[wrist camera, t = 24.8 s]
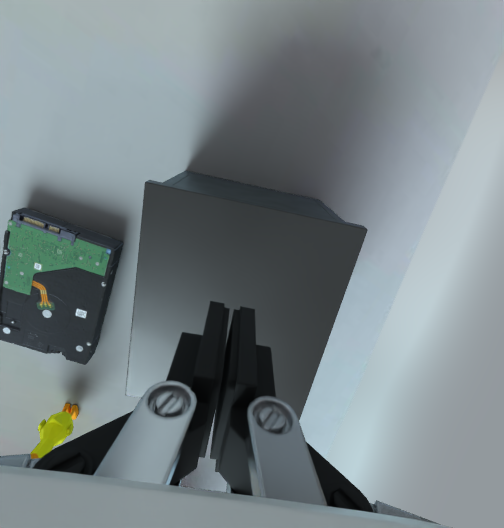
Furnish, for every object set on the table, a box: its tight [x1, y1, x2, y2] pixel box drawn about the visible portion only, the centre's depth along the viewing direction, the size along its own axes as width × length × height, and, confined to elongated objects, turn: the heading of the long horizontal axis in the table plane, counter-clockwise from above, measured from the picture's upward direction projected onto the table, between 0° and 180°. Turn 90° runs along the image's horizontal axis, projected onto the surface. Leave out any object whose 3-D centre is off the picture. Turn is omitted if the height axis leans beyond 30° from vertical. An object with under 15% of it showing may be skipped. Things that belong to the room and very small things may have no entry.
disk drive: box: [0, 208, 123, 365], centre depth 34 cm, size 10×3×15 cm
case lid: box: [125, 180, 367, 420], centre depth 23 cm, size 16×14×1 cm
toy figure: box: [30, 403, 79, 459], centre depth 37 cm, size 7×4×12 cm, turn 166°
